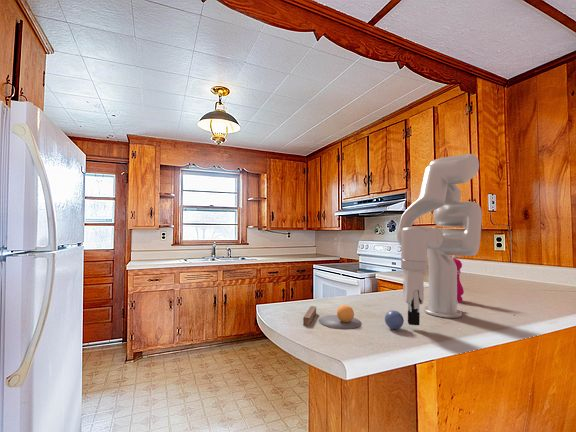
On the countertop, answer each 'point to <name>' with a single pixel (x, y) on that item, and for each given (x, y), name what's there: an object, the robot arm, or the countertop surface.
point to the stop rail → (309, 316)
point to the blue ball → (394, 319)
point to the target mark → (338, 322)
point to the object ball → (345, 313)
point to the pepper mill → (458, 279)
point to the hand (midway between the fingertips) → (413, 324)
